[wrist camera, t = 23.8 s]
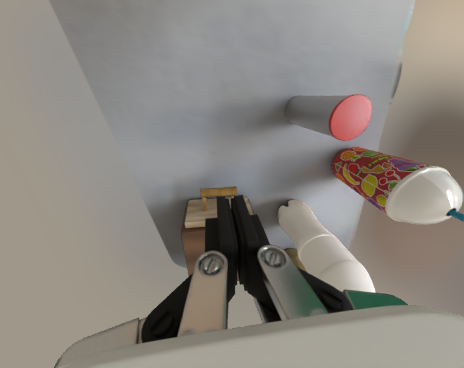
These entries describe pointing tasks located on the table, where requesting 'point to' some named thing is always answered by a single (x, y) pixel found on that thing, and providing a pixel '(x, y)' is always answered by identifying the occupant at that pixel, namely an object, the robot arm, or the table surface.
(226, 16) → the table surface
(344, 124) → the spice tin
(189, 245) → the cabinet
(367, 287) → the water bottle
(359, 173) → the smoothie
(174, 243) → the table surface
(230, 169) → the table surface
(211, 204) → the drawer
